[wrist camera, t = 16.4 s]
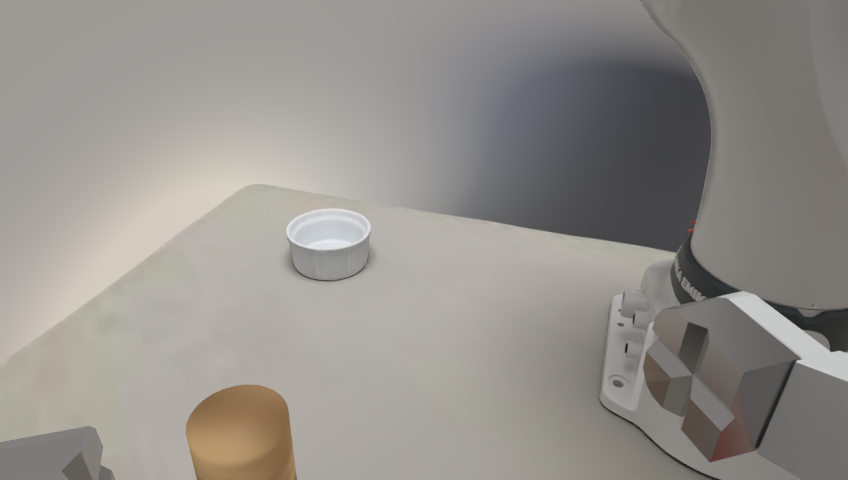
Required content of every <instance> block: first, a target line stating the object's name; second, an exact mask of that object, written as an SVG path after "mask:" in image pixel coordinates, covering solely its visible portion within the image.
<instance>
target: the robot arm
mask: <svg viewBox="0 0 848 480" xmlns="http://www.w3.org/2000/svg"><path fill="white" fill-rule="evenodd" d="M640 1H641V3H642V6H643V8H644V9H645V11H646V12H647V14H648V16H649V17H650V19H651V20H652V21H653V22H654V24H655V25H656V26H657V27H658V28H659V29H660V30H661V31H662V32H663V33H664V34H666V35H667V36H668V37H669V38H670V39H671V40H672V41H673V42H674V44H675V45H676V46H677V47H678V48H679V49H680V50H681V51H682V53H683V54H684V55H685V57H686V58H687V59H688V61H689V62H690V64H691V66H692V67H693V69H694V71H695V73H696V74H697V76H698V78H699V81H700V83H701V85H702V88H703V90H704V93H705V96H706V99H707V104H708V108H709V113H710V119H711V136H712V137H711V151H710V158H709V164H708V170H707V175H706V180H705V185H704V191H703V196H702V200H701V204H700V208H699V213H698V216H697V220H696V221H691V223H692V224H695V228H694V229H690V230H688V232H689V233H690V234H689V235H688V237H687V238H686V239H685V241H684V243H683V245H682V246H680V248H679V250H678V252H677V254H676V256H675V259H672V260H666V261H662V262H658V263H656V264H653V265H651V266H650V267H648V268H647V269H646V270H645V273H644V276H643V279H642V283H641V287H640V290H635V291H628V290H627V291H624V293H621V294H618V295H616V296H614V297H613V300H612V303H611V306H610V312H609V321H608V329H607V338H606V347H605V355H604V364H603V372H602V381H601V389H600V400H601V402H602V404H603V405H604V406H605V407H606V408H608V409H609V410H611V411H612V412H614V413H616V414H618V415H619V416H621V417H623V418H625V419H627V420H629V421H631V422H633V423H634V424H636V425H637V426H638V427H640V428H641V429H642V430H643V431H644V432H645V433H646V434H647V435H648V436H649V437H650V438H651V439H652V440H653V441H654V442H655V443H657V444H658V445H659V446H660V447H661V448H662V449H664V450H665V451H666V452H668V453H669V454H670V455H672V456H673V457H675V458H676V459H678V460H679V461H681V462H683V463H684V464H686V465H688V466H690V467H692V468H694V469H696V470H698V471H700V472H702V473H704V474H707V475H709V476H712V477H715V478H717V479H720V480H848V0H640ZM102 450H103V445H102V443H101V441H100V438H99V436H98V434H97V431H96V429H95V428H93V427H90V426H87V427H82V428H76V429H71V430H65V431H60V432H54V433H49V434H43V435H38V436H32V437H27V438H21V439H16V440H10V441H5V442H0V480H115V478H114V475H113V472H112V471H111V470H109V469H107V468H105V467H103V466H101V465H100V464H101V457H102Z"/></svg>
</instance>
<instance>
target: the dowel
mask: <svg viewBox="0 0 848 480" xmlns="http://www.w3.org/2000/svg"><path fill="white" fill-rule="evenodd" d="M186 436H187V440H188V444H189V448H190V452H191V456H192V461H193V465H194V469H195V473H196V477H197V480H297V478H296V469H295V461H294V453H293V445H292V437H291V429H290V421H289V413H288V407H287V404H286V402H285V400H284V399H283V398H282V397H281V396H280V395H279V394H278V393H277V392H275V391H274V390H272V389H269V388H267V387H263V386H258V385H239V386H234V387H230V388H226V389H223V390H221V391H218V392H216V393H214V394H212V395H211V396H209V397H208V398H206V399H205V400H204V401H202V402H201V403H200V404H199V405H198V406H197V407H196V408H195V409H194V411H193V412H192V414H191V415H190V417H189V419H188V422H187V426H186Z"/></svg>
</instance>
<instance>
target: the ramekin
mask: <svg viewBox="0 0 848 480" xmlns="http://www.w3.org/2000/svg"><path fill="white" fill-rule="evenodd" d="M370 233H371V224H370V222H369V221H368V220H367V219H366V218H365V217H364V216H362V215H361V214H358V213H356V212H353V211H349V210H344V209H320V210H315V211H311V212H307V213H305V214H302V215H300V216H298V217H296V218H295V219H293V220H292V221H291V222H290V223H289V224H288V226H287V228H286V236H287V239H288V241H289V244H290V249H291V254H292V259H293V263H294V265H295V267H296V269H297V270H298V271H299V272H300V273H301V274H303V275H305V276H307V277H310V278H313V279H317V280H338V279H343V278H347V277H350V276H352V275H354V274H356V273H357V272H359V271H360V270H361V269H362V268H363V267H364V266H365V264H366V262H367V258H368V246H369V236H370Z"/></svg>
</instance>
